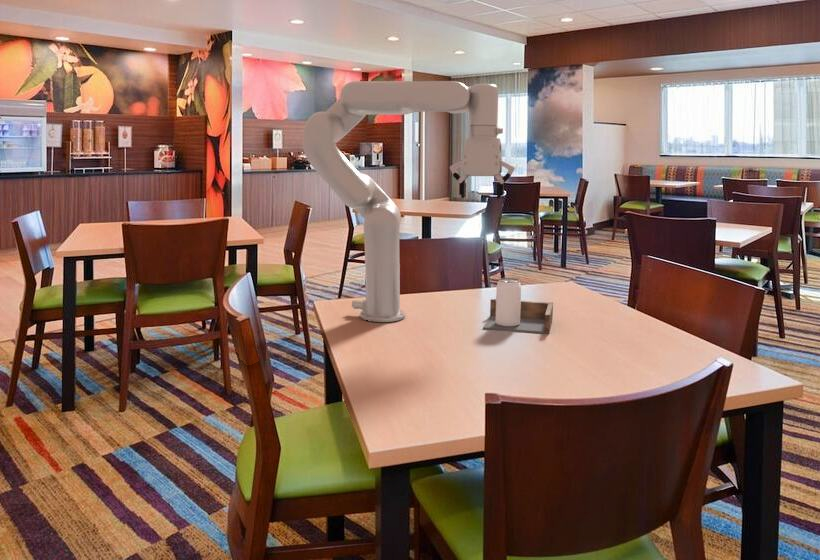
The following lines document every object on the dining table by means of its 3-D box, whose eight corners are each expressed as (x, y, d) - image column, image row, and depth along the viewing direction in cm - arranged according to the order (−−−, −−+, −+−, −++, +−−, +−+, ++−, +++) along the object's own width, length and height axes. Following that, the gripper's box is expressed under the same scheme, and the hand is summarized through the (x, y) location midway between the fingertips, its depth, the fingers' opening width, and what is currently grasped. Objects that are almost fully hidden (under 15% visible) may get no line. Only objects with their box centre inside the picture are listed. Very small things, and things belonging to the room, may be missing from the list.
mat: (482, 329, 175) (483, 327, 175) (490, 316, 188) (490, 314, 188) (549, 333, 170) (549, 331, 170) (552, 320, 184) (552, 318, 184)
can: (494, 326, 175) (495, 281, 173) (496, 320, 182) (497, 277, 179) (519, 327, 174) (521, 282, 172) (520, 321, 180) (521, 278, 178)
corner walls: (482, 329, 175) (483, 310, 174) (490, 316, 188) (491, 298, 187) (549, 333, 170) (550, 314, 169) (552, 320, 184) (553, 302, 183)
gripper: (517, 133, 177) (515, 198, 181) (453, 133, 182) (452, 196, 185) (514, 132, 170) (511, 200, 174) (447, 132, 175) (446, 198, 178)
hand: (481, 198), depth 179 cm, fingers open, 9 cm apart
